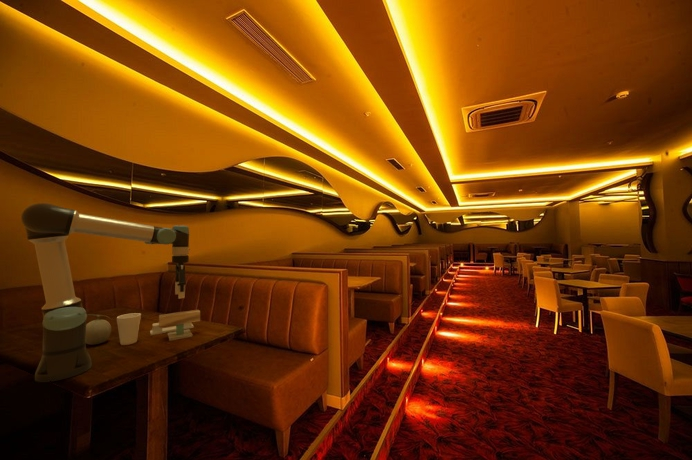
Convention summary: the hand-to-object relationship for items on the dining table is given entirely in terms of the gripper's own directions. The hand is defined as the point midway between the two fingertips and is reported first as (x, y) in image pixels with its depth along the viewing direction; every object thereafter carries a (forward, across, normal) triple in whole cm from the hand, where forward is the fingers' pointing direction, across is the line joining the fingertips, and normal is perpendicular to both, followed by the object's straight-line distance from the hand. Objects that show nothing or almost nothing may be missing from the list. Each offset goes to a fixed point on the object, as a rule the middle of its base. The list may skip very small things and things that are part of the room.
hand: (179, 296), depth 146 cm
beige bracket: (+20, +14, +2) cm, 25 cm away
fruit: (+21, +13, +33) cm, 41 cm away
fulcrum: (+20, 0, 0) cm, 21 cm away
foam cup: (+21, +5, +21) cm, 30 cm away
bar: (+14, 0, 0) cm, 14 cm away
